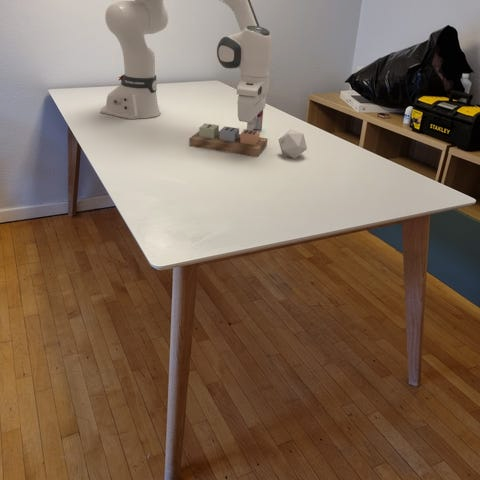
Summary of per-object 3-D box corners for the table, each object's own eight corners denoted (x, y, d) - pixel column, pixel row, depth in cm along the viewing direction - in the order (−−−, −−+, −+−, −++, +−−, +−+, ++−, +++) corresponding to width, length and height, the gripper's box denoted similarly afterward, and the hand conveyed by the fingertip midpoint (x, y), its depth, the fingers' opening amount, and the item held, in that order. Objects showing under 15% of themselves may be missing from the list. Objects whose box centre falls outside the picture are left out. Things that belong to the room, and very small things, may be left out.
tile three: (240, 145, 156) (240, 133, 154) (244, 141, 160) (245, 128, 158) (255, 148, 155) (256, 135, 153) (258, 143, 159) (260, 131, 157)
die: (281, 151, 161) (271, 131, 153) (305, 139, 159) (296, 119, 152) (288, 168, 156) (279, 148, 148) (313, 156, 154) (305, 136, 147)
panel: (189, 145, 158) (189, 138, 156) (202, 135, 168) (202, 128, 166) (257, 156, 153) (258, 149, 151) (267, 145, 163) (267, 138, 161)
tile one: (199, 139, 159) (199, 126, 157) (204, 135, 164) (204, 122, 162) (213, 141, 158) (214, 129, 156) (218, 137, 162) (219, 124, 160)
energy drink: (260, 133, 174) (262, 99, 169) (245, 131, 175) (247, 97, 169) (262, 129, 179) (265, 95, 173) (248, 127, 180) (250, 94, 174)
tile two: (219, 142, 158) (219, 129, 156) (224, 138, 162) (224, 125, 160) (234, 144, 157) (234, 132, 155) (238, 140, 161) (239, 127, 159)
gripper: (253, 77, 158) (250, 119, 165) (234, 89, 141) (232, 136, 147) (272, 79, 157) (268, 122, 163) (255, 92, 139) (252, 139, 146)
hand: (251, 129), depth 155 cm, fingers closed
